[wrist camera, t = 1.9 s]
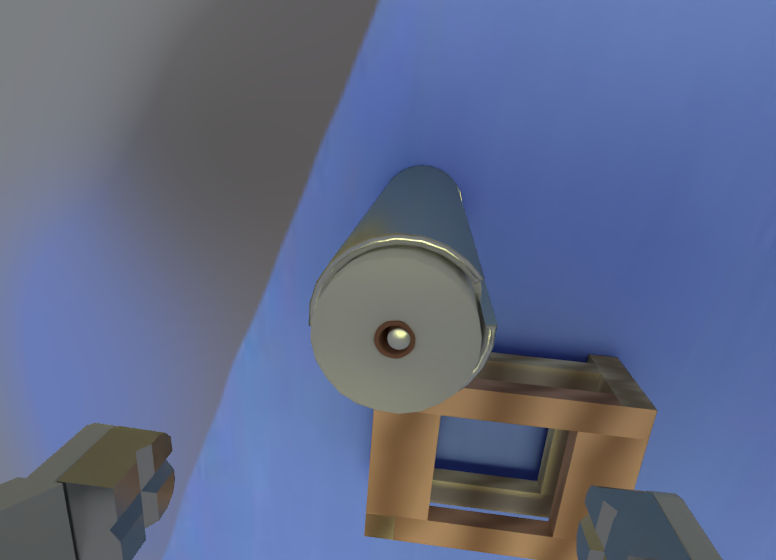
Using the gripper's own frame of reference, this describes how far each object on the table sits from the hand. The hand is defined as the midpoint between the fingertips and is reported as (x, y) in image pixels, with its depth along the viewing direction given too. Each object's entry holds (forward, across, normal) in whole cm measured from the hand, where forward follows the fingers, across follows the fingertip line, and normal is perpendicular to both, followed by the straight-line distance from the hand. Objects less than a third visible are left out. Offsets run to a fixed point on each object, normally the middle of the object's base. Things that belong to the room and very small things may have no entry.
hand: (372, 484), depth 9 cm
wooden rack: (+31, -8, +19) cm, 38 cm away
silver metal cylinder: (+32, 0, 0) cm, 32 cm away
